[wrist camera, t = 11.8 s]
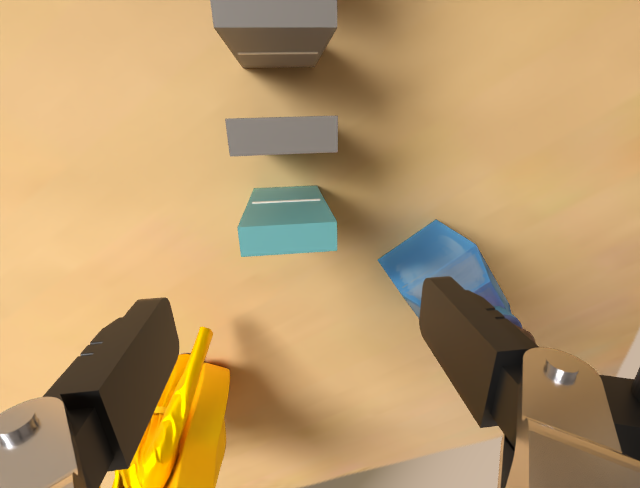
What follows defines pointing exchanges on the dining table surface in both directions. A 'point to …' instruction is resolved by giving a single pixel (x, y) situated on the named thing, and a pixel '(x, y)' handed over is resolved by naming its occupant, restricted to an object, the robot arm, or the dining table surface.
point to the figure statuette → (184, 427)
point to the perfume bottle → (443, 267)
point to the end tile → (287, 222)
